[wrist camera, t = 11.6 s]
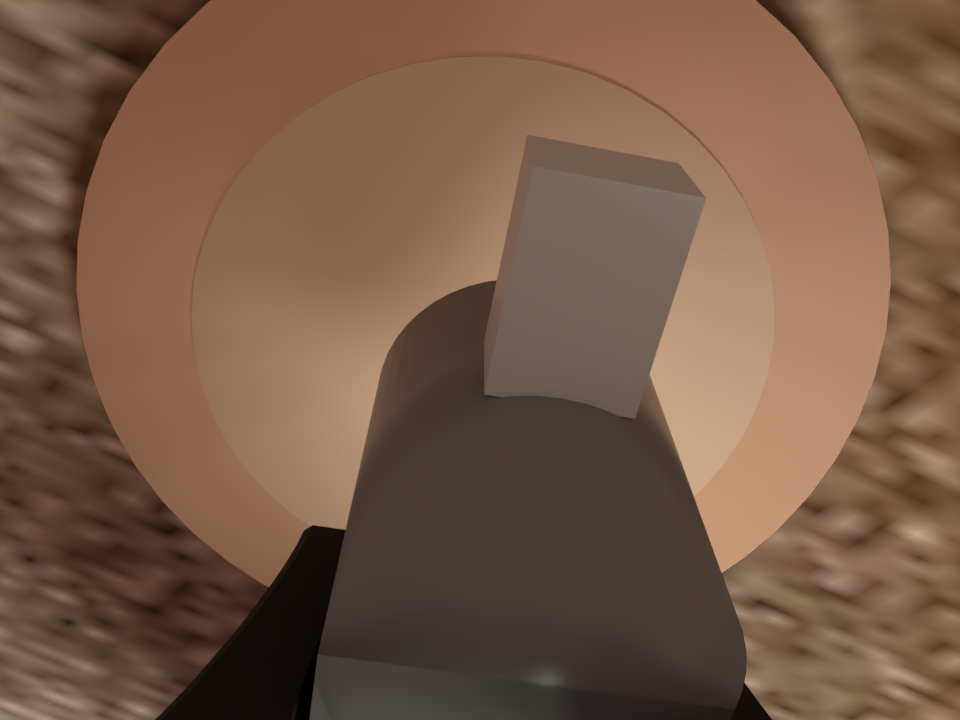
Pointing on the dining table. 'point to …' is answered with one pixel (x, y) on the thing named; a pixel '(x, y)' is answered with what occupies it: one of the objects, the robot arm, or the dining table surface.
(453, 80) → the plate
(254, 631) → the robot arm
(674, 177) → the connector
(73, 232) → the dining table surface
